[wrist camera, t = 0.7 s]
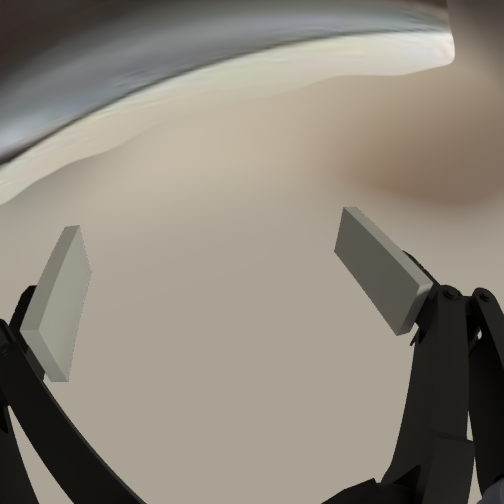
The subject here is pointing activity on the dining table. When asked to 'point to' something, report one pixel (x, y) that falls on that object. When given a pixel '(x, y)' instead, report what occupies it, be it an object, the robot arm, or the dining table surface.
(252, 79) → the dining table surface
